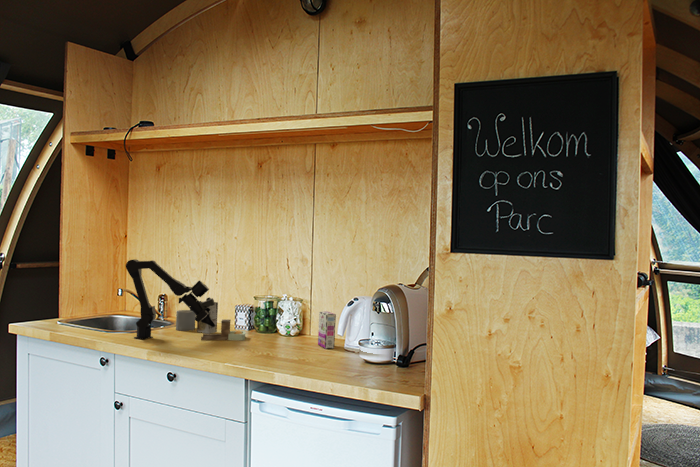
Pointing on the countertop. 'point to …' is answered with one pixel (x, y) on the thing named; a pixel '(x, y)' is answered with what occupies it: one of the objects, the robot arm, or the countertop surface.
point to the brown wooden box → (225, 328)
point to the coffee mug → (185, 320)
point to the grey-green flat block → (236, 336)
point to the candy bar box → (326, 330)
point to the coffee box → (205, 327)
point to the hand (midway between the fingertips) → (214, 326)
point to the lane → (213, 337)
